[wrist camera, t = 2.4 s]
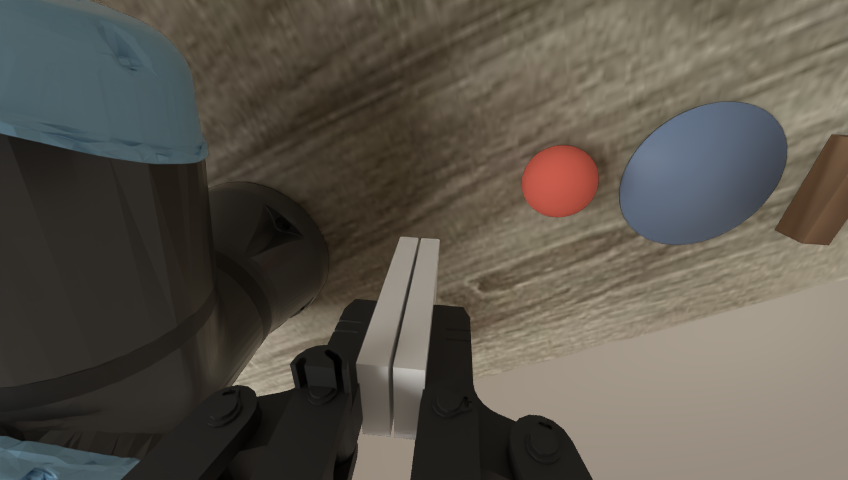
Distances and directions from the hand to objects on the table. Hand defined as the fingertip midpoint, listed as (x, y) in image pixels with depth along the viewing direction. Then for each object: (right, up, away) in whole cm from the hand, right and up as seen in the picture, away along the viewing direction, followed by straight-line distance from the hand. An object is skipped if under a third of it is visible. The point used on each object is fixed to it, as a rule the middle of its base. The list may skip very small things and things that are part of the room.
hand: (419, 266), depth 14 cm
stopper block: (+32, +6, +12) cm, 35 cm away
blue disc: (+23, +6, +13) cm, 27 cm away
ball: (+11, +6, +11) cm, 17 cm away
